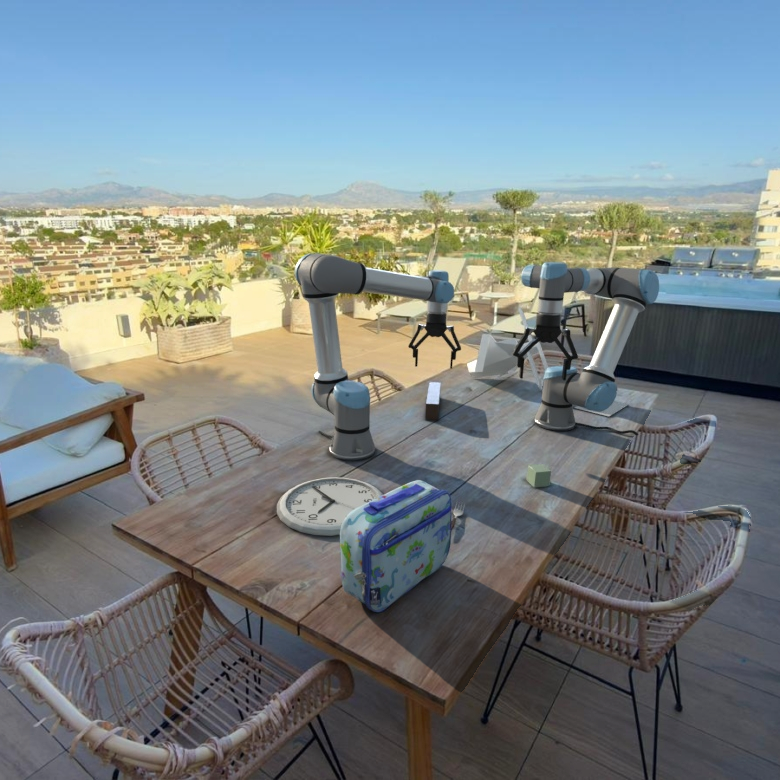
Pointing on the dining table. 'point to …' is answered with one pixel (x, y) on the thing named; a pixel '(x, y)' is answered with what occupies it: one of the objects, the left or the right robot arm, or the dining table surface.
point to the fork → (457, 514)
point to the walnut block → (433, 401)
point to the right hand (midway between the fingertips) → (542, 378)
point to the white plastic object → (503, 356)
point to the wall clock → (323, 504)
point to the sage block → (538, 475)
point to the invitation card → (608, 412)
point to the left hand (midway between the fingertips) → (433, 366)
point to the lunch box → (394, 543)
